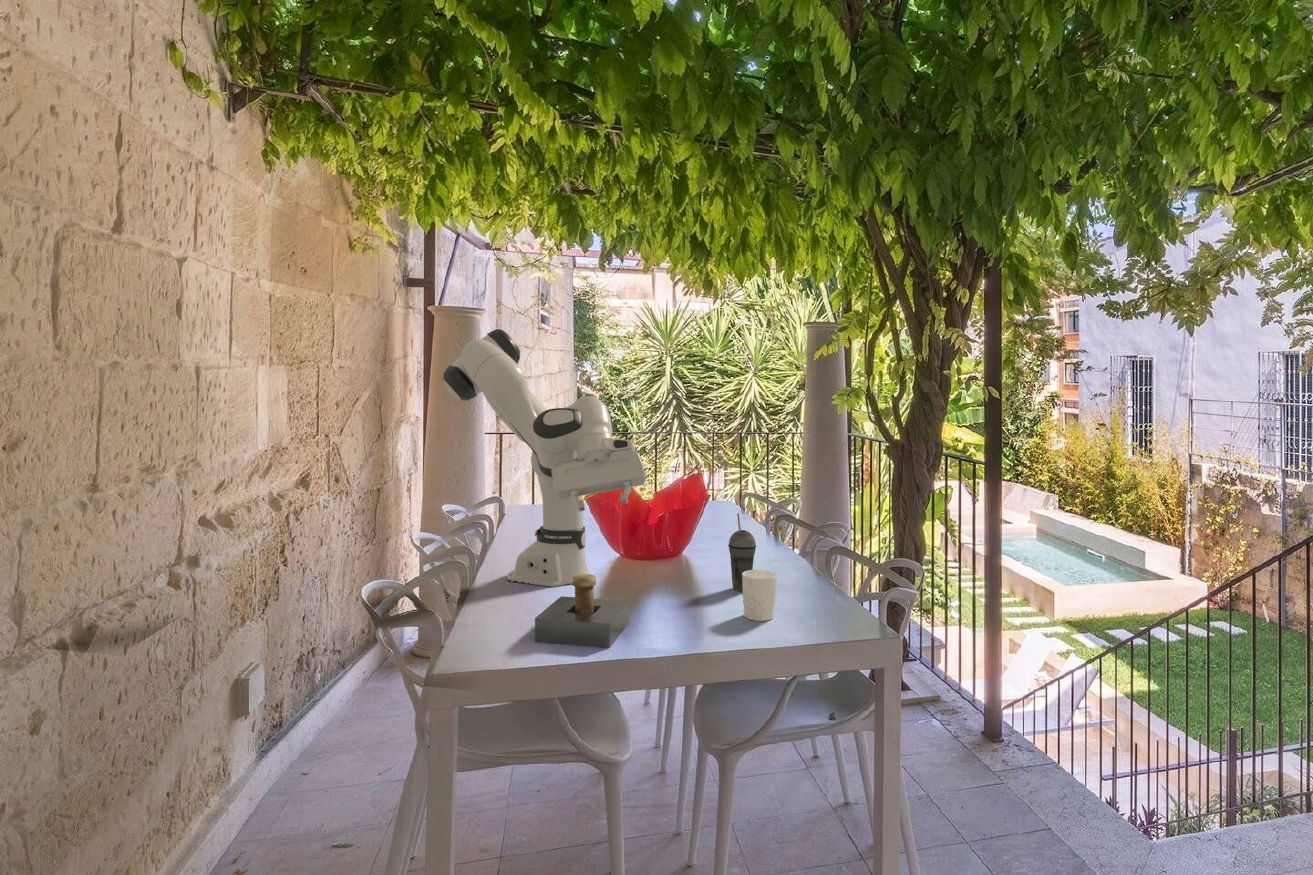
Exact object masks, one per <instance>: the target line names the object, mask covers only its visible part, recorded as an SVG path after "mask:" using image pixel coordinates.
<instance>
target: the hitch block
mask: <svg viewBox="0 0 1313 875" xmlns="http://www.w3.org/2000/svg"><path fill="white" fill-rule="evenodd" d="M629 624H630V601H629V600H619V599H608V598H607V599H605V598H604V599H603V598H594V614H580V613H575V596H560V597H558V598H557V599H555V601H553V602H552V603H551V604H550V605H549V606H547V607H546V609H544V610H543V611H542V612H541V613H539V614H538V615H537V616H535V617H534V642H536V643H546V644H557V645H558V644H560V645H568V646H569V645H570V646H582V647H596V648H603V649H604V648H606V649H611V647H612V646H613V645H614V643H615V642H616V640H617V639H618V638H619V637H620V635H621V634H622V633H623V631H624V630H625V629H626V628H627V626H628V625H629Z"/></svg>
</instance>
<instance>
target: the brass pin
mask: <svg viewBox="0 0 1313 875" xmlns="http://www.w3.org/2000/svg"><path fill="white" fill-rule="evenodd" d="M596 585H597V576H596V575H594V574H580V575H575V576H573V583H572V586H573V587H574V597H575V613H580V614H594V599H595V596H594V594H595V593H594V592H595V591H594V590H595V588H594V587H595V586H596Z"/></svg>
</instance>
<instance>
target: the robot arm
mask: <svg viewBox="0 0 1313 875" xmlns="http://www.w3.org/2000/svg"><path fill="white" fill-rule="evenodd" d="M520 359H521V350H520V348H519V344H518V343H517V341H516V339H515V338H514V337H513V336H512V335H511V334H509V333H508V332H506V331H504V329H499V328H497V329H494V330H491V331H490V332H487V334H486V336H484V337H482V338H479V339H474V340H471V341H470V342H468V343H467V344H466V345H465V346H464V347H463V348H462V350H461V354H460V356H459V357H457V359H455V361H454V362H452V364H449V365H448V366H447V367H446V369H445V370H444V372H443V375H442V380H443V381H444V385H445V387H446V389H447V391H448V392H449V393H450V394H451V395H452V396H454V397H455V398H457V399H460V400H461V401H464V402H465V401H466V402H467V401H470V400H473V399H474V398H476V397H478V394H481V392H482V394H483V396H484V397H485V400H486V402H487V403H488V405H490V407H491V409H492V410H493V411H494V413H495V414H496V415H497V416H498V417H499V418H500V420H501V421H502V422H503V423H504V424H505V425H506V426H507V427H508V428H509V430H510V431H511V432H512V433H513V434H514V436H516V437H517V438H518V440H520V441H521V442H522V443H525V444H527V446H528V447H529V448H530V449H531V451H532V453H531V456H530V464H531V467H532V470H533V472H534V473H535V474H536V476H537V479H538V480H537V481H538V484H539V488H540V493H541V498H542V499H541V500H542V525H541V526H540V527H539V528H537V529H536V530H535V531H534V537H536V540H535V541H534V542H533V543H531V544H530V545H529V546H527V547H526V548H525V549H524V550H523V551H522V552H520V553H519V554H518V556H517V558H516V561H515V565H514V569H512V570H510V572H508V573H507V575H506V580H507V579H508V580H511V581H510V582H513V581H517V582H516V583H521V582H524V583H523V584H528V583H529V585H530V584H531V585H537V586H546V587H559V586H563V585H570V584H572V585H573V576H575V575H580V574H589V570H588V565H587V560H586V552H585V551H586V550H585V547H586V538H587V537H586V527H585V526H584V512H585V510H586V509H585V503H584V498H583V496H588V495H593V494H600V493H606V492H611V491H617V490H622V489H624V490H623V492H620V493H619V495H620V496H619V497H620V502H621V504H628V503H629V499H628V497H629V496H630V494H631V492H632V488H634V487H640V486H643V485H644V484H646V481H647V477H646V472H645V468H644V464H643V460H642V459H641V457H640V454H639V453H638V452H637V451H636V448H635V445H634V442H633V441H632V440H630V439H629V440H628V439H620V438H619V439H618V438H613V436H612V435H613V426H612V420H611V416H610V415H611V414H610V413H609V412H610V411H609V410H608V407H607V406H606V405H605V403H604V402H603V401H602V400H600V399H599V398H597V397H595V396H582V397H580V398H577V400H575V401H574V402H573V403H571V404H570V405H567V406H566V407H565V406H564V407H556V408H549V409H547V408H546V407H545V406H544V405H543V404H542V402H541V401H540V400H539V399H538V398H537V397H536V395H534V394H533V393H532V392H531V390H529V386H528V382H527V378H526V376H525V374H524V372H523V371H522V369H521V368H520V366H519V365H518V364H519V362H520ZM508 580H507V581H508Z"/></svg>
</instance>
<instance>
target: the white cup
mask: <svg viewBox="0 0 1313 875" xmlns="http://www.w3.org/2000/svg"><path fill="white" fill-rule="evenodd" d="M777 578H778V577H777V573H776V572H774V571H771V570H770V571H769V570H764V569H753V570H749V571H745V572H743V573H742V587H743V592H742V604H743V616H744V617H745V619H747V620H749V621H755V622H767V621H771V620H773V619H774V616H775V605H776V596H777V595H776V594H777V580H778V579H777Z"/></svg>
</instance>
